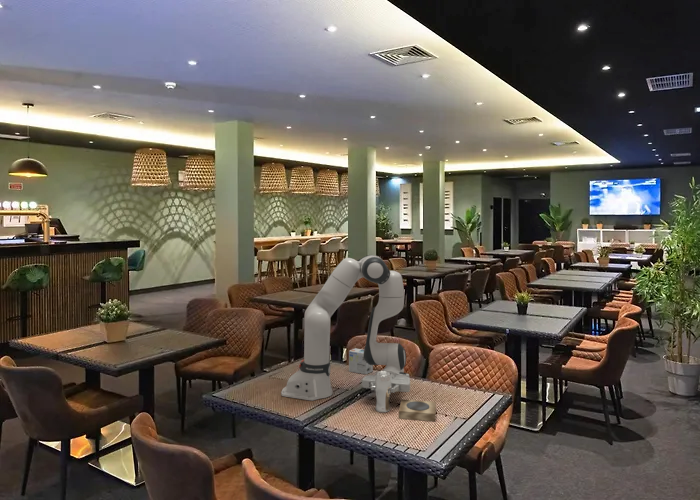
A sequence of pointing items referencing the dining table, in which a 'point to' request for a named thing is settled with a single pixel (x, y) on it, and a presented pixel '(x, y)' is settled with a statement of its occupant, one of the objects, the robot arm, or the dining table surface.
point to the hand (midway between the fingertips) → (382, 389)
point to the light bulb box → (358, 362)
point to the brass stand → (417, 410)
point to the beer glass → (383, 390)
